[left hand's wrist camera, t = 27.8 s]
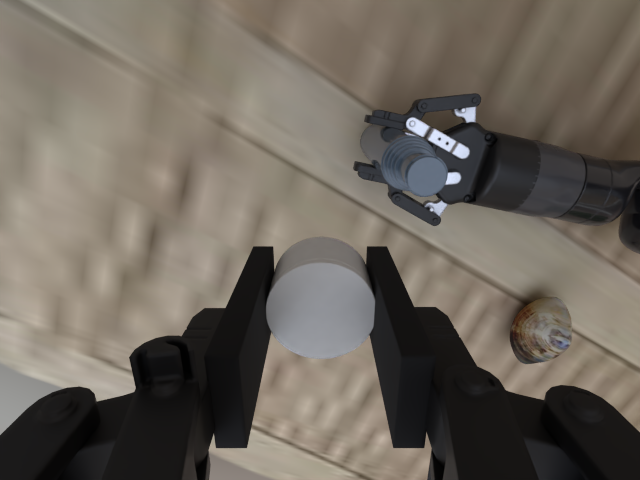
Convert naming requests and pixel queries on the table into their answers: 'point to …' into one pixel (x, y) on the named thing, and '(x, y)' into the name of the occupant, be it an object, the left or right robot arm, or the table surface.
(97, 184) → the table surface
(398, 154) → the bottle
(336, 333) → the cap
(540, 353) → the seashell
